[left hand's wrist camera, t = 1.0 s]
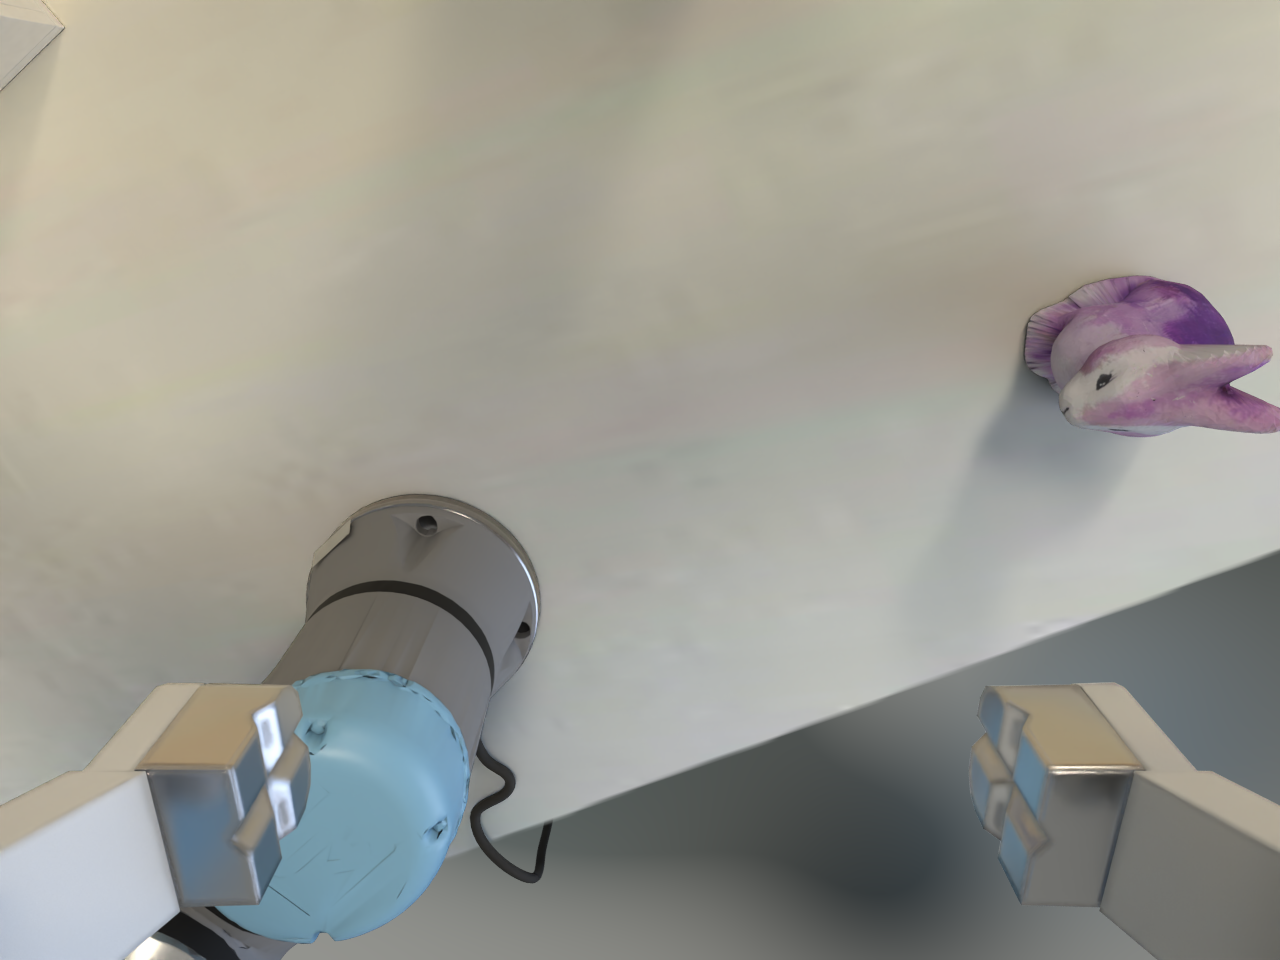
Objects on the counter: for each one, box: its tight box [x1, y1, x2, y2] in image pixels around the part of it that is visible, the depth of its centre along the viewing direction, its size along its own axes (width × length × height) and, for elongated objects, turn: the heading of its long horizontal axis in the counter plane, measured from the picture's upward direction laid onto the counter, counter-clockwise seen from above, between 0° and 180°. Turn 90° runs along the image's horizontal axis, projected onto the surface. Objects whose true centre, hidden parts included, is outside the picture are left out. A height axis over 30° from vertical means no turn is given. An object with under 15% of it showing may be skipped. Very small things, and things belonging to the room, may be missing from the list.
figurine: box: [1025, 276, 1280, 437], centre depth 48 cm, size 9×10×15 cm
